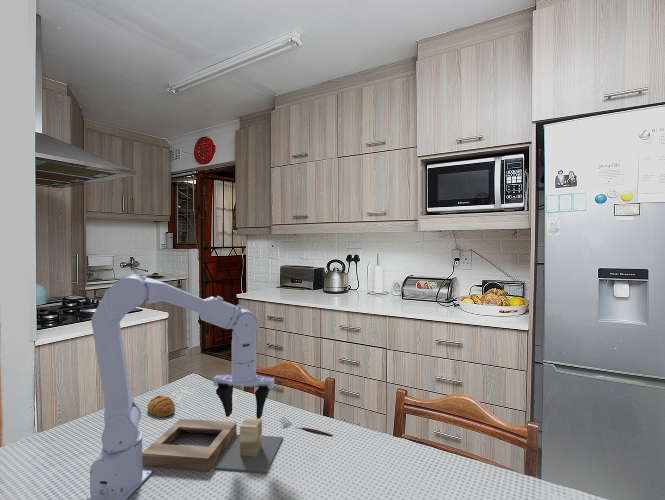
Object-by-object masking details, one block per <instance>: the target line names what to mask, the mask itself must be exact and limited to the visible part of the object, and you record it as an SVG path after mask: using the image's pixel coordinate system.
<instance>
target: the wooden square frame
mask: <svg viewBox="0 0 665 500" xmlns="http://www.w3.org/2000/svg"><path fill="white" fill-rule="evenodd" d="M237 427H238V426H237V421H222V420H208V419H207V420H205V419H192V418H191V419H190V418H189V419H188V418H179V419H178V420H177V421H175V423H174V424H173V425H171V426H170V427H169V428H168V429H167V430H166V431H165V432H164V433H162V435H161V436H159V437H158V438H157V439H156V440H155V441H154V442H153V443H151V444H150V445H149V446H148V447H147V448H146V449H145V450H144V451H142V463H143V467H147V468H149V467H150V468H159V469H170V470H171V469H175V470H184V471H196V472H209V471H210V470H211V469H212V467H213V466H214V464H215V463H216V462H217V461H218V460H219V458H220V457H221V456H222V454H223V453H224V452H225V450H226V449H227V447H228V446H229V444H230V443H231V442H232V440H233V439H234V438H235V436H237V430H238V428H237ZM182 433H195V434H211V435H217V436H216V437H215V438H214V440H213V441H212V443H210V445H208V446H206V447H205V446H193V445H181V444H179V445H178V444H171V443H172V442H173V441H174V440H175V439H176V438H177V437H178V436H179V435H180V434H182Z"/></svg>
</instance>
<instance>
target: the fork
mask: <svg viewBox="0 0 665 500" xmlns="http://www.w3.org/2000/svg"><path fill="white" fill-rule="evenodd" d="M278 421H279V422H280V423H281V424H282V425H283V426H284V427H285V428H286V429H289V428H290V427H291V426H293V422H291V421H290V420H288V419H287V418H286V417H285V416H282V417H281V418H280V419H279V420H278ZM294 429H299V430H303V431H306V432H309V433H312V434H319V435H324V436H328V437H333V436H334V435H333V434H331V433H329V432H325V431H322V430H318V429H314V428H309V427H301V426H298V425H297V426H296V427H294Z"/></svg>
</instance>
